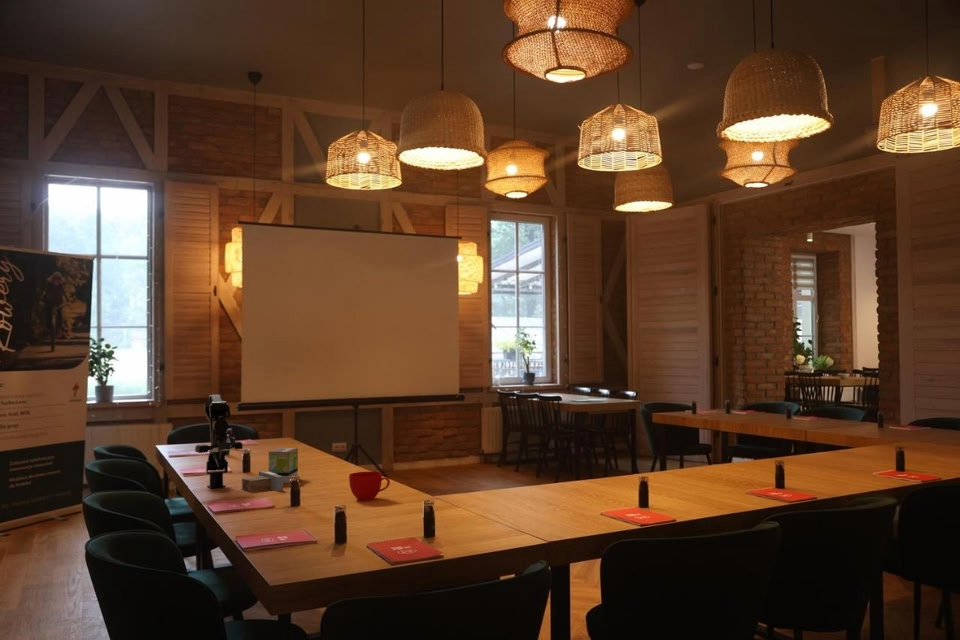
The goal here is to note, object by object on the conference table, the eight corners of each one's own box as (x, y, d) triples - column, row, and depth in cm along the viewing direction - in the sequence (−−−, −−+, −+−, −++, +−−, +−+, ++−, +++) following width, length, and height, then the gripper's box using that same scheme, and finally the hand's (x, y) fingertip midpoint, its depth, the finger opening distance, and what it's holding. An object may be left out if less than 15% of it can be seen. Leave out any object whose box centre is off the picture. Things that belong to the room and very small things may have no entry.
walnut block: (242, 489, 334) (242, 478, 334) (261, 487, 340) (261, 475, 340) (251, 492, 327) (250, 480, 327) (270, 489, 333) (270, 478, 333)
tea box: (289, 483, 346) (289, 451, 347) (267, 484, 346) (267, 451, 347) (298, 478, 361) (298, 446, 362) (277, 478, 361) (277, 447, 362)
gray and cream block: (258, 484, 344) (258, 470, 345) (264, 484, 346) (264, 470, 346) (277, 491, 327) (277, 476, 327) (283, 490, 328) (283, 475, 329)
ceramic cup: (382, 503, 294) (381, 477, 295) (343, 501, 300) (343, 476, 300) (396, 497, 306) (396, 472, 307) (359, 495, 312) (358, 471, 312)
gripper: (203, 434, 316) (203, 472, 316) (247, 430, 328) (247, 466, 327) (194, 432, 325) (194, 468, 324) (237, 428, 336) (237, 463, 336)
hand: (219, 467), depth 328 cm, fingers closed
